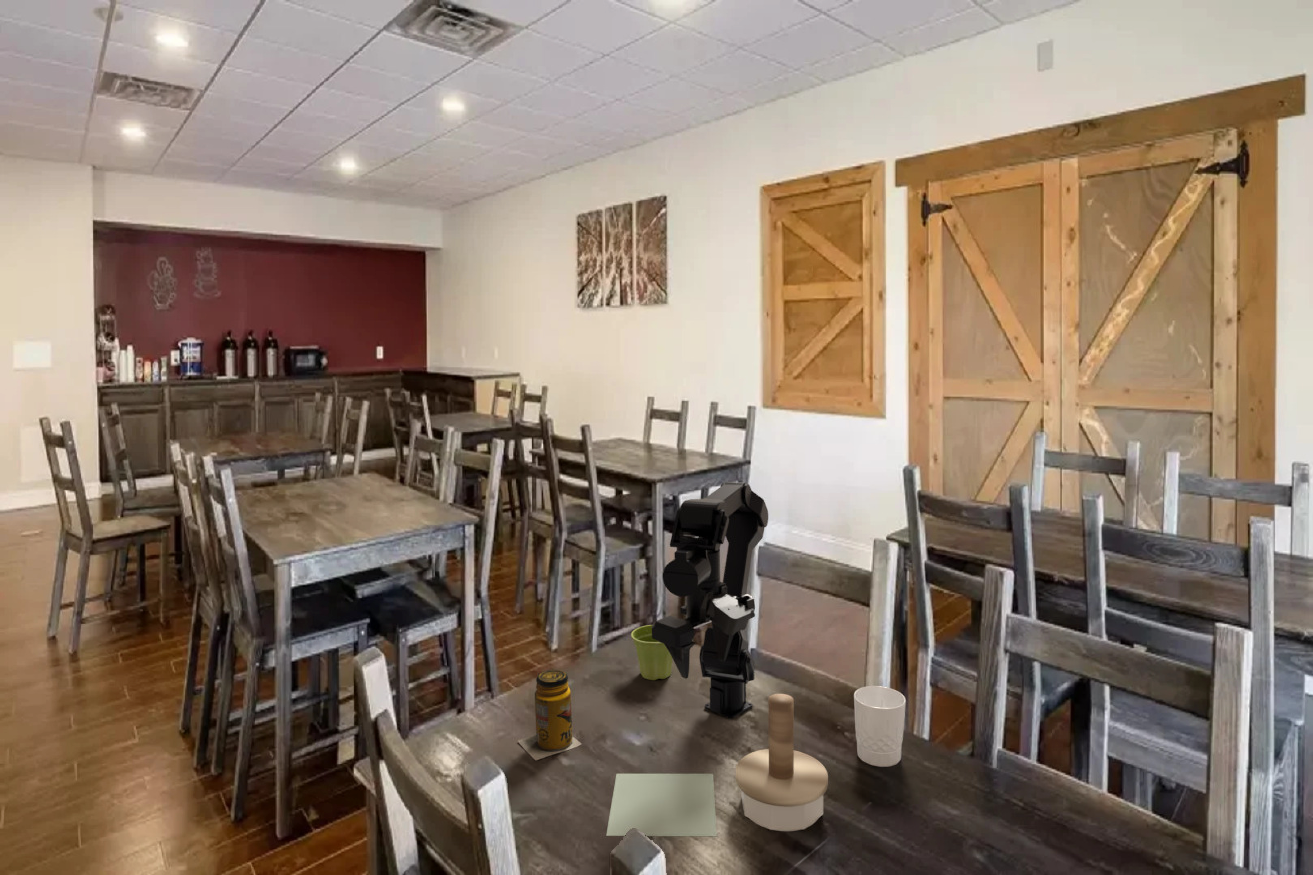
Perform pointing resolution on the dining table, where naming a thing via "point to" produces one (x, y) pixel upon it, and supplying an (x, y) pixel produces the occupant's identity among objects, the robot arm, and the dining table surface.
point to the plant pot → (651, 654)
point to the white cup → (879, 725)
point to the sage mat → (663, 805)
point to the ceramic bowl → (782, 814)
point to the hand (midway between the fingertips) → (704, 668)
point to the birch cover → (781, 764)
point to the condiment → (551, 716)
